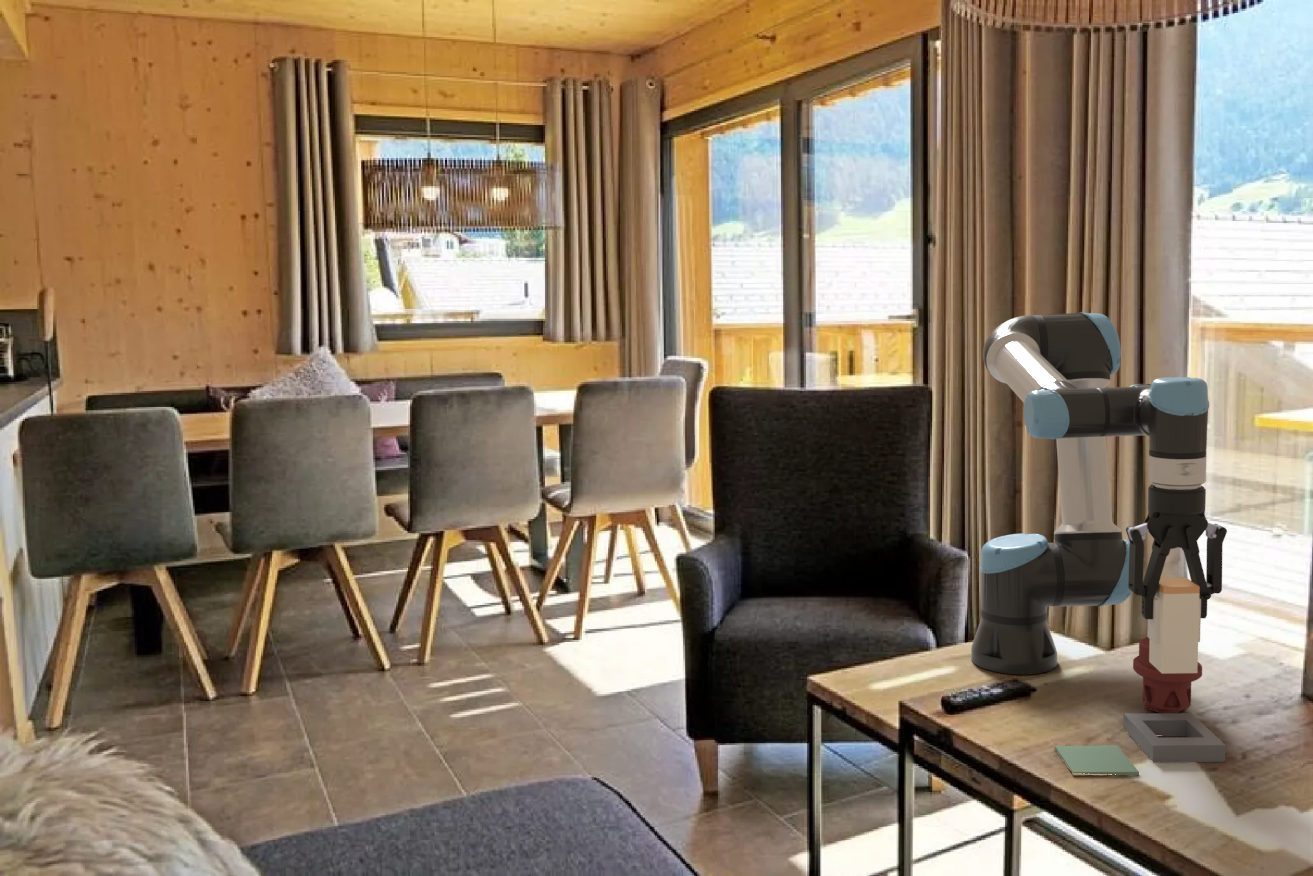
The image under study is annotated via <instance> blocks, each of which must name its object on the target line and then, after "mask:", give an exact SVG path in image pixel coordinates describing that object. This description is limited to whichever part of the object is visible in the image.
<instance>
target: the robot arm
mask: <svg viewBox="0 0 1313 876" xmlns="http://www.w3.org/2000/svg"><path fill="white" fill-rule="evenodd" d="M1121 350H1122V349H1121V343H1120V337H1119V335H1118V331H1117V329H1116V326H1115V325H1114V323H1113V322H1112V321H1111V319H1110V318H1109V317H1108V316H1106V315H1104V314H1103V313H1098V312H1097V313H1095V312H1094V313H1093V312H1090V313H1089V312H1082V311H1079V312H1073V313H1071V312H1069V313H1056V314H1055V313H1053V314H1038V315H1037V314H1035V315H1033V314H1032V315H1031V314H1030V315H1020V316H1016V317H1013V318H1010V319H1007V320H1006V321H1005V322H1003V323H1001V324H1000V325H998V326H997V327H996V328H994V330H992V332H991V333H990V334H989V335H988V337H987V338H986V340H985V343H984V345H983V349H982V360H983V363H984V366H985V368H986V370H987V371H988V372H989V374H990V375H991V376H992V377H993V379H995V380H997V381H998V382H1000V383H1003V384H1007V386H1008V387H1009V388H1010V389H1011V390H1012V392H1014V394H1015V395H1016V396H1017V397H1018V398H1019V399H1020V401H1022V403H1023V421H1024V426H1025V427H1026V429H1025V430H1026V432H1027V433H1028V435H1029V436H1030V437H1032V438H1033V439H1049V440H1056V453H1057V454H1056V455H1057V467H1058V469H1057V470H1058V483H1059V498H1060V501H1059V502H1060V512H1061V513H1060V514H1061V524H1060V525H1059V526H1058V527H1057V528H1056V529H1055V530H1054V532H1053V538H1054V542H1049V541H1048V539H1047V537H1045V536H1044V535H1043V534H1039V533H1022V532H1021V533H1013V534H1012V533H1011V534H1007V535H1001V536H998V537H994V538H992V539H990V540H988V541H987V542H985V544H983V546H982V548H981V550H980V562H979V567H978V569H979V571H980V620H979V624H978V626H977V629H976V633H975V635H974V638H973V642H972V644H971V650H970V651H971V654H970V655H971V656H970V657H971V662H972V663H973V664H975V665H976V666H978V667H980V668H982V669H984V670H987V671H991V672H994V673H995V672H996V673H1000V674H1008V675H1036V674H1042V673H1043V674H1044V673H1046V672H1050V671H1052V670H1054V669H1055V668H1056V667H1057V666H1058V651H1057V648H1056V644H1055V641H1054V639H1053V636H1052V634H1051V633H1052V632H1051V630H1050V628H1049V623H1048V608H1049V607H1086V606H1089V607H1090V606H1091V607H1093V606H1095V607H1104V606H1110V605H1119V604H1122V603H1124V602H1125V601H1127V600H1128V599H1129V598H1130V596H1131V595H1132V593H1134V594H1135V595H1136V596H1141V615H1142V617H1143V618H1144V619H1145V620H1147V637H1148V638H1149V639H1150V640H1152V641H1153V642H1154V643H1159V638H1160V599H1159V598H1157V597H1156V596H1155V594H1156V591H1157V588H1158V584H1159V581H1160V578H1162V577H1161V576H1162V573H1163V570H1164V567H1165V564H1166V560H1167V557H1168V556H1169V554H1170V552H1171V550H1173V549H1177V548H1180V549H1182V552H1183V554H1184V557H1185V558H1184V559H1185V561H1186V566H1187V570H1188V575H1189V577H1190V578H1189V579H1190V581H1192V582H1193V583H1195V584H1196V585H1198V586H1199V587H1200V592H1199V630H1198V643H1201V624H1202V623H1201V619H1207V616H1208V600H1209V599H1211V597H1212V595H1214V594H1221V592H1222V590H1223V544H1224V540H1225V539H1226V536H1227V534H1228V530H1227V528H1226V527H1224V526H1222V525H1220V524H1218V523H1210V522H1209V521H1208V519H1207V518H1206V514H1205V513H1206V498H1207V497H1206V495H1207V493H1206V492H1207V491H1206V490H1207V489H1206V488H1205V487H1204V486H1203V484H1205V483H1206V481H1207V457H1208V456H1207V445H1208V444H1207V443H1208V423H1209V422H1208V419H1209V408H1210V402H1209V394H1208V391H1209V390H1208V384H1207V382H1206V380H1204V379H1202V378H1198V377H1186V376H1171V377H1170V376H1169V377H1167V376H1166V377H1160V378H1156V379H1154V380H1153V381H1152V382H1151V383H1146V384H1145V383H1137V384H1132V385H1130V386H1117V387H1116V386H1115V387H1108V386H1109V385H1110V384H1111V382H1112V381H1111V376H1112V375H1114V374H1116V373H1117V372H1118V371H1119V369H1120V366H1121V359H1120V358H1121V357H1122V351H1121ZM1129 436H1130V437H1134V436H1135V437H1136V436H1138V437H1139V436H1148V440H1149V441H1148V443H1149V445H1148V446H1149V447H1148V448H1149V449H1148V475H1147V476H1148V478H1147V480H1148V481H1149V482H1150V483H1151V484H1150V485H1149V486H1148V487H1147V488H1148V489H1147V515H1146V518H1145V520H1144V522H1143V523H1142V524H1139V525H1135V526H1132V525H1128V526H1126V528H1125V532H1126V536H1127V538H1128V540H1127V539H1123V532H1122V531H1123V530H1122V529H1121V528H1119V526H1117V525H1116V524H1115V523H1114V522H1113V517H1112V516H1113V515H1112V505H1111V504H1112V503H1111V489H1110V476H1109V466H1108V465H1109V463H1108V449H1107V439H1106V438H1107V437H1129ZM1147 533H1149V535H1150V536H1151V537H1152V539H1153V542H1152V545H1151V554H1150V557H1149V561H1148V565H1147V567H1146V571H1145V575H1144V560H1145V559H1144V556H1145V553H1144V552H1145V546H1144V541H1145V539H1146V538H1147V535H1146V534H1147ZM1204 533H1205V537H1206V568H1205V569H1206V576H1205V574H1204V573H1205V572H1204V569H1203V564H1202V561H1201V557H1200V548H1199V543H1198V540H1199V538H1201V536H1202V535H1203V534H1204ZM1147 637H1146V638H1147Z"/></svg>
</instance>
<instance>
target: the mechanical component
mask: <svg viewBox="0 0 1313 876" xmlns="http://www.w3.org/2000/svg"><path fill="white" fill-rule="evenodd" d="M1149 644H1150V639H1149V638H1148V637H1144V638H1141V639H1140V640H1139V641H1138V655H1137V656H1136V657H1134V658H1133V659H1132V668H1133V671H1134V672H1135V673H1136V674H1138V675H1139V676H1141V677H1142V700H1143V702H1144V708H1146V709H1147V710H1149V709H1151V710H1150V711H1154V712H1155V713H1180V712H1181V711H1183V710H1186V709H1188V708H1190V707H1192V706H1191V705H1192V704H1191V703H1192V682H1195V681H1197V680H1198V679H1200V678H1201V677H1202V676H1203V666H1202V664H1201V663H1200V662H1199V661H1198V668H1197V673H1164V674H1162V673H1161V672H1160V671H1159V670H1157V669H1156V668H1155V667H1154V666H1153V665H1152V664H1151V663H1150V662H1149Z"/></svg>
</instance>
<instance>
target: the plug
mask: <svg viewBox="0 0 1313 876" xmlns="http://www.w3.org/2000/svg"><path fill="white" fill-rule="evenodd" d="M1199 592H1200V587H1199V586H1198V585H1196V584H1195V583H1193V582H1192V581H1191V579H1190V578H1189V579H1188V577H1184V576H1183V577H1182V576H1180V577H1160V581H1159V584H1158V588H1157V591H1156V594H1155V596H1156V597H1157V598H1159V599H1160V638H1159V643H1154V642H1153V641H1152V640H1150V644H1149V662H1150V663H1151V664H1152V665H1153V666H1154V667H1155V668H1156V669H1157V670H1159V671H1160V672H1161V673H1162V674H1164V673H1197V668H1198V662H1199V642H1198V630H1199Z"/></svg>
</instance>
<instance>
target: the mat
mask: <svg viewBox="0 0 1313 876" xmlns="http://www.w3.org/2000/svg"><path fill="white" fill-rule="evenodd" d="M1055 749H1056V751H1057V752H1058V753H1059V755H1060V756H1061V758H1062V759H1063V760H1064V762H1066V764H1067V766H1068V767H1069V768H1070V769H1071V771H1072V772H1073V773H1082V774H1083V773H1085V774H1088V773H1089V774H1107V775H1108V774H1112V775H1115V774H1116V775H1139V776H1140V771H1139V770H1138V768H1137V767H1136V766H1135V765H1134V764H1133V763H1132V761H1131V760H1130V759H1129V758H1128V757H1127V756H1126V754H1125V753H1124V752H1123V751H1122V750H1121V748H1120V747H1119V745H1054V750H1055ZM1056 751H1055V752H1056ZM1057 752H1056V753H1057ZM1059 755H1058V756H1059ZM1060 756H1059V757H1060ZM1061 758H1060V759H1061ZM1062 759H1061V760H1062ZM1064 762H1063V763H1064Z"/></svg>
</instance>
